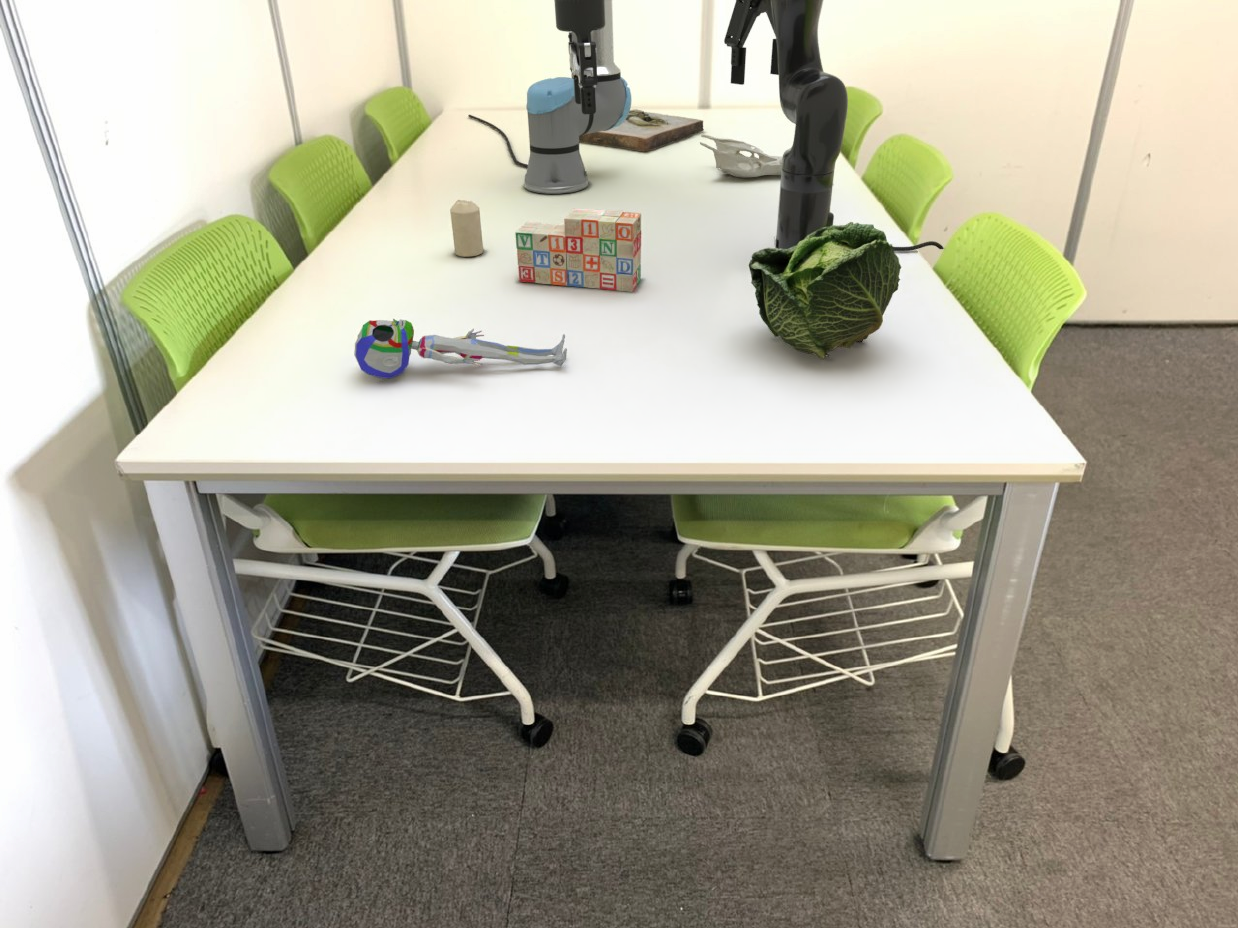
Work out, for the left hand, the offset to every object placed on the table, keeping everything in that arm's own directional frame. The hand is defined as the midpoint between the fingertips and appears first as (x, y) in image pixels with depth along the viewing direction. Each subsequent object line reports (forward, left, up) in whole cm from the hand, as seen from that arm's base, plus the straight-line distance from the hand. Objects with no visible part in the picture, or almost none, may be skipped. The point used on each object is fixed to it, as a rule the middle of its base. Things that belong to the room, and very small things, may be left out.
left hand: (757, 79), depth 178 cm
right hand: (+5, -52, +3) cm, 52 cm away
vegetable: (+48, -45, -27) cm, 72 cm away
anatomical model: (-20, +27, -27) cm, 43 cm away
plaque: (-71, +39, -27) cm, 86 cm away
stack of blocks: (+1, -51, -27) cm, 58 cm away
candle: (-26, -55, -27) cm, 67 cm away
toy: (+14, -87, -27) cm, 93 cm away
